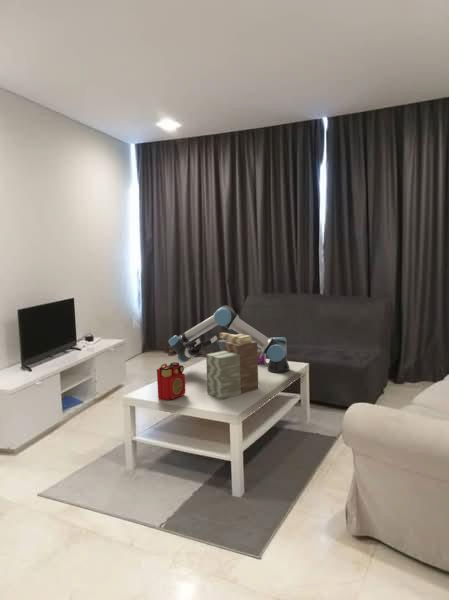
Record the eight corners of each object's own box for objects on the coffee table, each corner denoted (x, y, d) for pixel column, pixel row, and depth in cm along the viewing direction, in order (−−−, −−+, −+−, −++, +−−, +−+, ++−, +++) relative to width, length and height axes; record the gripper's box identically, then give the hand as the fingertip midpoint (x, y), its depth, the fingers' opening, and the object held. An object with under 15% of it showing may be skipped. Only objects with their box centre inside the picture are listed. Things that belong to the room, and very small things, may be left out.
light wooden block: (216, 338, 288) (216, 332, 288) (226, 337, 293) (226, 331, 293) (241, 344, 269) (240, 337, 269) (251, 342, 274) (251, 335, 274)
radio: (170, 401, 260) (169, 367, 257) (157, 399, 265) (155, 365, 263) (187, 393, 273) (186, 361, 271) (174, 391, 278) (172, 359, 276)
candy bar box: (250, 363, 340) (249, 341, 338) (251, 361, 344) (251, 340, 343) (264, 364, 336) (264, 342, 334) (266, 362, 341) (265, 340, 339)
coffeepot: (218, 362, 346) (217, 338, 344) (215, 359, 355) (214, 336, 353) (237, 360, 351) (237, 336, 349) (234, 357, 360) (233, 334, 358)
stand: (207, 393, 272) (205, 346, 268) (243, 384, 289) (242, 339, 285) (222, 399, 261) (220, 349, 257) (258, 389, 278) (257, 342, 274)
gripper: (208, 352, 315) (225, 341, 300) (178, 359, 300) (193, 347, 284) (205, 342, 317) (221, 331, 302) (174, 348, 302) (190, 336, 286)
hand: (208, 339), depth 293 cm, fingers open, 13 cm apart
